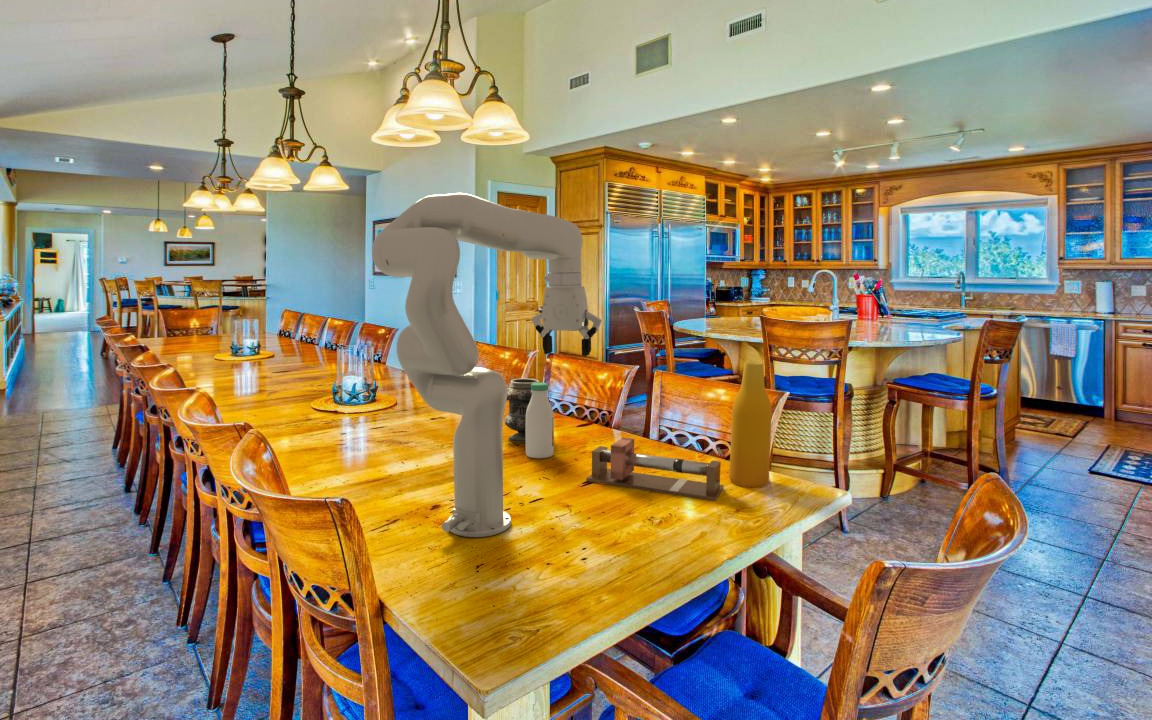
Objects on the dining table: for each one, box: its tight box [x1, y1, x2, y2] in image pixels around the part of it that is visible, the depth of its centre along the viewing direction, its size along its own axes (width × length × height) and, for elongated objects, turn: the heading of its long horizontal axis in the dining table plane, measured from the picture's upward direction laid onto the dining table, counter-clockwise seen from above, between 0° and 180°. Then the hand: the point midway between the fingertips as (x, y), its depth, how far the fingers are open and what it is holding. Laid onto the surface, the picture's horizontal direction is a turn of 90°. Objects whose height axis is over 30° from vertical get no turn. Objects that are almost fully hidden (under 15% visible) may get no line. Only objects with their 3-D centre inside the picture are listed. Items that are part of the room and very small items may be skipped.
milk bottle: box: [525, 382, 555, 459], centre depth 172 cm, size 8×8×20 cm
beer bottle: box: [728, 361, 773, 489], centre depth 150 cm, size 9×9×29 cm
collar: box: [610, 437, 635, 480], centre depth 152 cm, size 8×3×8 cm, turn 155°
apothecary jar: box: [503, 377, 540, 444], centre depth 189 cm, size 12×12×18 cm
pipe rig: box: [586, 445, 724, 502], centre depth 149 cm, size 9×31×7 cm, turn 65°
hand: (566, 354), depth 147 cm, fingers open, 9 cm apart
